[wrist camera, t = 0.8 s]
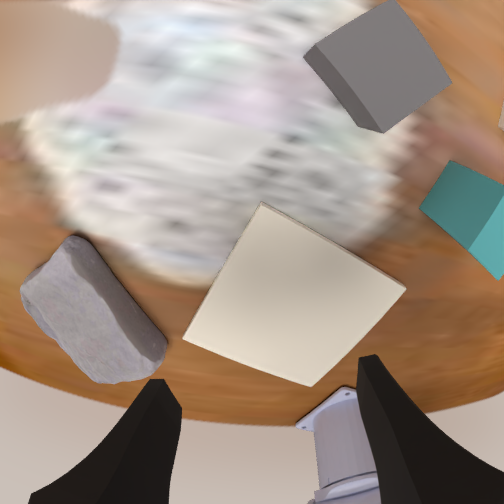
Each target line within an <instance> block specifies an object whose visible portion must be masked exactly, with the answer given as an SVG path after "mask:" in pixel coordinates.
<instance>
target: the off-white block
mask: <svg viewBox="0 0 504 504" xmlns="http://www.w3.org/2000/svg"><path fill="white" fill-rule="evenodd" d="M498 127H499V128H500V129H501V130H503V131H504V102H503V106H502V111H501V115H500V120H499V124H498Z"/></svg>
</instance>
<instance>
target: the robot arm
mask: <svg viewBox="0 0 504 504" xmlns="http://www.w3.org/2000/svg"><path fill="white" fill-rule="evenodd" d="M181 419H182V407H181V406H180V404H179V403H178V401H177V400H176V398H175V397H174V395H173V393H172V392H171V390H170V389H169V387H168V385H167V384H166V382H165V380H164V379H150V380H149V381H148V382H147V384H146V385H145V386H144V388H143V389H142V390H141V392H140V393H139V395H138V396H137V397H136V399H135V400H134V401H133V403H132V404H131V405H130V407H129V408H128V410H127V411H126V412H125V414H124V415H123V416H122V417H121V419H120V420H119V421H118V423H117V424H116V425H115V426H114V428H113V429H112V430H111V431H110V432H109V434H108V435H107V436H106V437H105V438H104V439H103V441H102V442H101V443H100V444H99V445H98V446H97V447H96V448H95V449H94V450H93V451H92V452H91V453H90V454H89V455H88V456H87V457H86V458H85V459H83V460H82V461H81V462H80V463H79V464H77V465H76V466H75V467H74V468H72V469H71V470H70V471H69V472H68V473H66V474H64V475H63V476H62V477H60V478H59V479H57V480H56V481H54V482H52V483H51V484H49V485H47V486H45V487H43V488H42V489H40V490H38V491H36V492H34V493H32V494H31V496H30V499H29V502H28V504H169V488H170V480H171V474H172V469H173V465H174V460H175V455H176V450H177V446H178V441H179V436H180V431H181ZM296 428H298V429H302V430H307V431H312V432H314V437H315V447H316V457H317V466H318V475H319V486H320V490H317V491H315V492H314V494H315V499H312V500H310V501H309V502H308V504H504V472H502V471H500V470H498V469H496V468H495V467H493V466H491V465H489V464H487V463H486V462H484V461H482V460H481V459H479V458H477V457H476V456H474V455H473V454H472V453H470V452H469V451H467V450H466V449H464V448H463V447H462V446H460V445H459V444H457V443H456V442H455V441H454V440H452V439H451V438H450V437H449V436H447V435H446V434H445V433H444V432H443V431H442V430H440V429H439V428H438V427H437V426H436V425H435V424H434V423H433V422H432V421H431V420H430V419H429V418H428V417H427V416H426V415H425V414H424V413H423V412H422V411H421V410H420V409H419V408H418V407H417V406H416V404H415V403H414V402H413V401H412V400H411V399H410V398H409V396H408V395H407V394H406V393H405V392H404V391H403V389H402V388H401V387H400V386H399V384H398V383H397V382H396V381H395V379H394V378H393V377H392V375H391V374H390V373H389V371H388V370H387V369H386V367H385V366H384V364H383V363H382V362H381V360H380V359H379V357H378V356H377V355H376V354H374V355H369V356H365V357H360V358H359V362H358V375H357V386H356V390H355V389H351V388H348V387H342V388H340V389H339V390H338V391H336V392H335V393H334V394H333V395H332V396H330V397H329V398H328V399H327V400H325V401H324V402H323V403H322V404H321V405H319V406H318V407H317V408H316V409H314V410H313V411H312V412H310V413H309V414H308V415H307V416H305V417H304V418H303V419H301V420H300V421H299V422H297V423H296Z"/></svg>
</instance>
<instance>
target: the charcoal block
mask: <svg viewBox="0 0 504 504" xmlns="http://www.w3.org/2000/svg"><path fill="white" fill-rule="evenodd" d="M303 58H304V59H305V60H306V62H307V63H308V64H309V65H310V66H311V67H312V68H313V70H314V71H315V72H316V73H317V74H318V75H319V77H320V78H321V79H322V80H323V81H324V83H325V84H326V85H327V86H328V88H329V89H330V90H331V91H332V93H333V94H334V95H335V96H336V98H337V99H338V100H339V101H340V103H341V104H342V105H343V107H344V108H345V109H346V111H347V112H348V113H349V115H350V116H351V117H352V119H353V120H354V122H355V123H356V124H357V126H358V127H362V128H365V129H369V130H373V131H376V132H380V133H383V134H384V133H385V132H386V131H388V130H389V129H390V128H392V127H393V126H394V125H396V124H397V123H398V122H400V121H401V120H403V119H404V118H405V117H407V116H408V115H409V114H411V113H412V112H413V111H415V110H416V109H417V108H419V107H420V106H422V105H423V104H424V103H426V102H427V101H428V100H430V99H431V98H432V97H434V96H435V95H437V94H438V93H439V92H441V91H442V90H444V89H445V88H446V87H448V86H449V85H450V84H452V81H451V79H450V78H449V76H448V74H447V73H446V71H445V69H444V68H443V66H442V64H441V63H440V61H439V59H438V58H437V56H436V55H435V53H434V52H433V50H432V49H431V47H430V46H429V44H428V43H427V41H426V40H425V38H424V37H423V35H422V34H421V33H420V31H419V30H418V29H417V27H416V26H415V24H414V23H413V22H412V20H411V19H410V18H409V17H408V15H407V14H406V13H405V12H404V10H403V9H402V8H401V7H400V5H399V4H398V3H397V2H396V1H395V0H388V1H386V2H384V3H382V4H381V5H379V6H377V7H375V8H373V9H371V10H370V11H368V12H366V13H364V14H363V15H361V16H359V17H358V18H356V19H354V20H352V21H351V22H349V23H347V24H346V25H344V26H343V27H341V28H339V29H338V30H336V31H335V32H333V33H331V34H330V35H328V36H327V37H325V38H324V39H322V40H321V41H319V42H318V43H316V44H315V45H314V46H313V47H312V48H311V49H310V50H309V51H308V52H307V53H306V54H305V56H304V57H303Z"/></svg>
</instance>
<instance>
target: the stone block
mask: <svg viewBox="0 0 504 504" xmlns="http://www.w3.org/2000/svg"><path fill="white" fill-rule="evenodd" d="M20 293H21V296H22V297H21V300H22V302H23V305H24V308H25V310H26V311H27V312H28V313H29V314H30V315H31V316H32V317H33V319H34V320H35V321H36V323H37V325H38V326H39V327H40V328H41V329H42V331H43V332H44V333H45V334H47V335H48V336H49V337H51V338H53V339H55V340H56V341H57V343H58V344H59V345H60V347H61V348H62V349H63V350H64V351H65V352H66V353H67V354H68V355H70V356H71V358H72V359H73V361H74V362H75V364H76V365H77V366H78V367H79V368H80V369H81V370H82V371H83V372H84V373H85V374H86V375H87V376H89V377H90V378H91V380H93V381H95V382H97V383H112V384H116V383H118V382H122V381H128V382H130V381H134V380H140V379H143V378H146V377H148V376H150V375H152V374H153V373H154V372H155V371H156V370H157V369H158V367H159V366H160V365H161V363H162V362H163V360H164V358H165V352H166V349H167V340H166V339H165V337H164V335H163V334H162V333H161V332H160V330H159V329H158V328H157V327H156V326H155V325H154V323H153V322H152V321H151V320H150V319H149V318H148V317H147V315H146V314H145V313H144V312H143V311H142V309H141V308H140V307H139V306H138V304H137V303H136V302H135V301H134V300H133V298H132V297H131V296H130V295H129V293H128V292H127V291H126V290H125V288H124V287H123V286H122V284H121V283H120V282H119V281H118V280H117V279H116V278H115V276H114V275H113V274H112V272H111V271H110V269H109V267H108V266H107V265H106V263H105V262H104V261H103V259H102V258H101V256H100V255H99V253H98V252H97V251H96V250H95V249H94V247H93V246H92V245H91V244H90V243H89V242H88V241H87V240H85V239H83V238H80V237H78V236H74V235H73V236H68V237H67V238H66V239H65V240H64V241H63V243H62V244H61V246H60V247H59V248H58V250H57V251H56V252H55V253H54V254H53V255H52V257H51V258H50V260H49V261H48V262H47V263H45V264H43V265H42V266H41V267H39V268H37V269H36V270H34V271H33V272H31V273H30V274H29V275H28V276H27V277H26V279H25V281H24V282H23V284H22V286H21V288H20Z"/></svg>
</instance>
